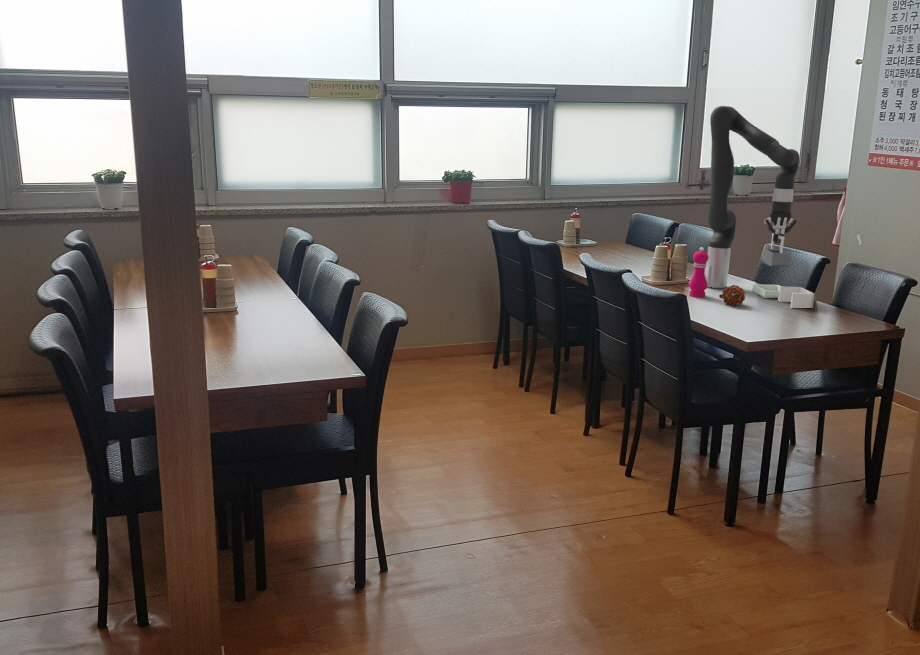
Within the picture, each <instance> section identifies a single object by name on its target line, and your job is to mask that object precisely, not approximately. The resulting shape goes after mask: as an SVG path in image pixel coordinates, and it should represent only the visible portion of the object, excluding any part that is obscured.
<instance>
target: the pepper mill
mask: <svg viewBox="0 0 920 655" xmlns="http://www.w3.org/2000/svg"><path fill="white" fill-rule="evenodd" d="M704 250H705V248H704V247H702V246H701V247H699V249H698V251H695V252H694V254H693V257H692V259H693V261H694V262H693V267H694V271H693V275H692V276H691V278H690V280H689V283H688V287H689V289H690V290H689V292H688V293H689V296H690V297H693V298H705V297H706V291H705V290H707V288H708V287H707V280H706V278H705V267H706V265H707V264H706V263H707V261H708V259H709V256H708V252H706V251H704Z"/></svg>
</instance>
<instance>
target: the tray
mask: <svg viewBox="0 0 920 655" xmlns="http://www.w3.org/2000/svg"><path fill="white" fill-rule="evenodd" d="M780 287H782V286H781V285H779V284H752V289H751V292H752V291H753V293H754V294H756V295H757V294H758V296H759V295H760V296H759V297H761V298H762V299H764V298H778V299H779V291H780ZM778 299H777V300H778Z"/></svg>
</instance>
